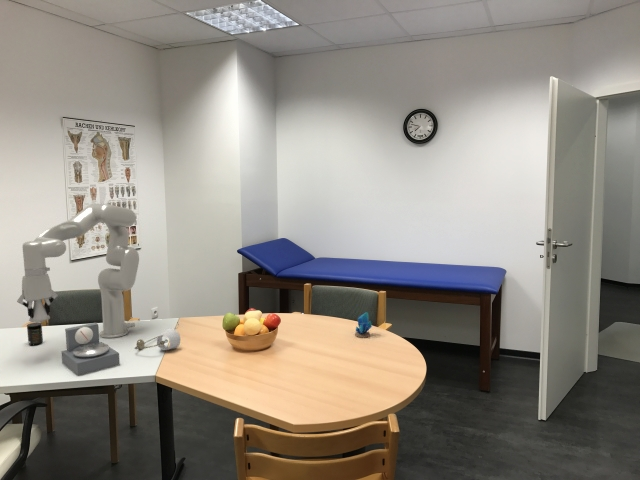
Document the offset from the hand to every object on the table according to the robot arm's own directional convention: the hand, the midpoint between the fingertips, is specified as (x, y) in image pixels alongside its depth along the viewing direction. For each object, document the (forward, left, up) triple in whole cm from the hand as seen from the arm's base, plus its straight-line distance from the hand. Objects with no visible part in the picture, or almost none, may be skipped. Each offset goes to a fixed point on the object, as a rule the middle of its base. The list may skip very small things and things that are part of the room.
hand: (39, 315), depth 207 cm
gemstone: (-119, +70, -19) cm, 139 cm away
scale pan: (-13, +19, -13) cm, 27 cm away
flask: (0, 0, -2) cm, 2 cm away
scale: (-13, +18, -19) cm, 29 cm away
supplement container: (-4, -24, -19) cm, 31 cm away
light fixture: (-50, +15, -20) cm, 56 cm away
